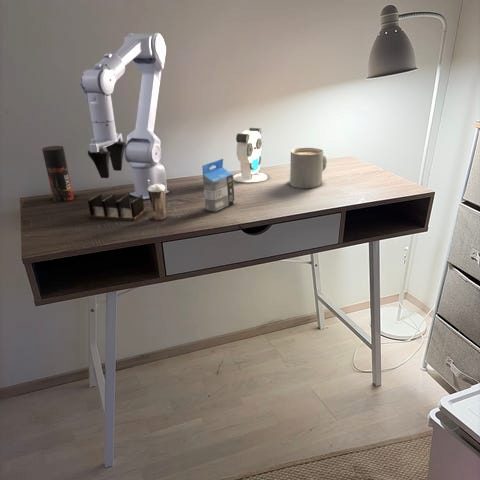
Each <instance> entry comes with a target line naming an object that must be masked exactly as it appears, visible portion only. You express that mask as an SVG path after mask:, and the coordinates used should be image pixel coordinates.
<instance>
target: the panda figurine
mask: <svg viewBox="0 0 480 480" xmlns="http://www.w3.org/2000/svg"><path fill="white" fill-rule="evenodd" d="M261 134H262V128H260V127H249V129H248V130H244V131H242V132H241V133H236V137H235V140H236V157H237V160H238V161H239V165H240V173H237V174H235V175H233V181H235V182H239V183H244V184H245V183H246V184H251V183H252V184H253V183H259V182H260V183H261V182H264V181H266V180H267V179H268V175H267V174H265V173H263V172H261V171H260V164H261V162H262V157H261V151H262V143H263V142H262V138H261Z"/></svg>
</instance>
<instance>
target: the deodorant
mask: <svg viewBox="0 0 480 480" xmlns="http://www.w3.org/2000/svg"><path fill="white" fill-rule="evenodd" d="M41 150H42V154H43V160H44V163H45V169H46V173H47V176H48V182H49V186H50V192H51V195H52V201H54V202H56V203H63V202H69V201H72V200H73V199H74V193H73V188H72V183H71V178H70V174H69V173H70V172H69V169H68V163H67V158H66V152H65V149H64V146H63V145H50V146H44V147H42V148H41Z"/></svg>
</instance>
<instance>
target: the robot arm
mask: <svg viewBox="0 0 480 480" xmlns="http://www.w3.org/2000/svg"><path fill="white" fill-rule="evenodd" d="M166 53H167V46H166V43H165V39H164V38H163V36H162V34H161V33H159V32H154V33H129V34H127V35H126V36H125V37H124V40H123V44H122V45H121V46H120V48H118V50H117V51H116V52H115V53H110V52H109V53H108V52H107V53H105V54H104V55H103V58H102V59H101V60H100V61H99V62H97V63H95V64H94V66H93V68H91V69H85V70H84V71H83V72H82V74H81V76H80V82H79V85H80V89H81V91H82V92H83V94H84V97H85V100H86V102H87V103H88V108H89V114H90V119H91V125H92V130H93V136H94V137H93V138H91V139H90V141H91V143H89V144H88V146H89V147H88V148H89V150H87V155H88V157H89V158H90V159H91V160H92V162H93V163H94V165H95V168H96V169H97V172H98V174H99V176H100V178H101V179H109V178H110V162H111V167H112V169H113V171H116V172H118V171H119V172H121V171H122V170H123V158H124V160H125V161H126V162H127V163H128V166H129V167H131V171H132V179H133V187H134V191H132V192H129V196H132V197H135V198H137V197H139V196H140V195H142V196H143V200H148V199H150V197H149V193H148V187H149V184H148V181H147V179H148V180H149V183H150V185H154V184H159V183H160V184H162V185H164V186H165V194H168V193H170V191H169V190H168V185H167V175H166V174H167V173H166V170H165V167H164V165H163V164H162V163H161V162H160V161H161V158H162V149H161V143H162V141H161V140H160V138H159V137H158V136H157V135H156V133H154V130H155V123H156V114H157V107H158V101H159V93H160V85H161V78H162V71H163V70H164V68H165V61H166ZM130 62H132V64H133V65H134V67H135V68H136V69H137V70H138V71H140V72H141V82H140V90H139V97H138V105H137V111H136V121H135V128H134V129H133V130H132V131H131V132H129V134H127V136H126V141H125V142H124V141H123V135H122V132H121V133H118V132H117V128H116V122H115V115H114V108H113V107H114V106H113V100H112V95H111V94H113V92H114V91H115V85H116V82H117V81H118V80H119V79H120V78H121V77H122V76H123V75H124V74H125V72H126V66H127V65H128V64H129V63H130ZM104 149H106V150H104Z"/></svg>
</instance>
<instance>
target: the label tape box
mask: <svg viewBox="0 0 480 480" xmlns="http://www.w3.org/2000/svg"><path fill="white" fill-rule="evenodd" d="M223 166H224V158H221V159H218V160H215V161H212V162H209V163H206V164H202V167H201V168H202V169H201V170H202V181H203V182H202V183H203V184H202V185H203V194H204V195H203V196H204V206H205V210H206V211H210V212H215V213H216V212H218V211H220V210H223V209H225V208H227V207H229V206H231V205H233V204H235V187H234V179H233V176H234V174H233V173H232V172H230V171H228V170H227V169H226V168H224V167H223ZM212 167H213V168H212ZM210 168H211V169H210Z"/></svg>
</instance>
